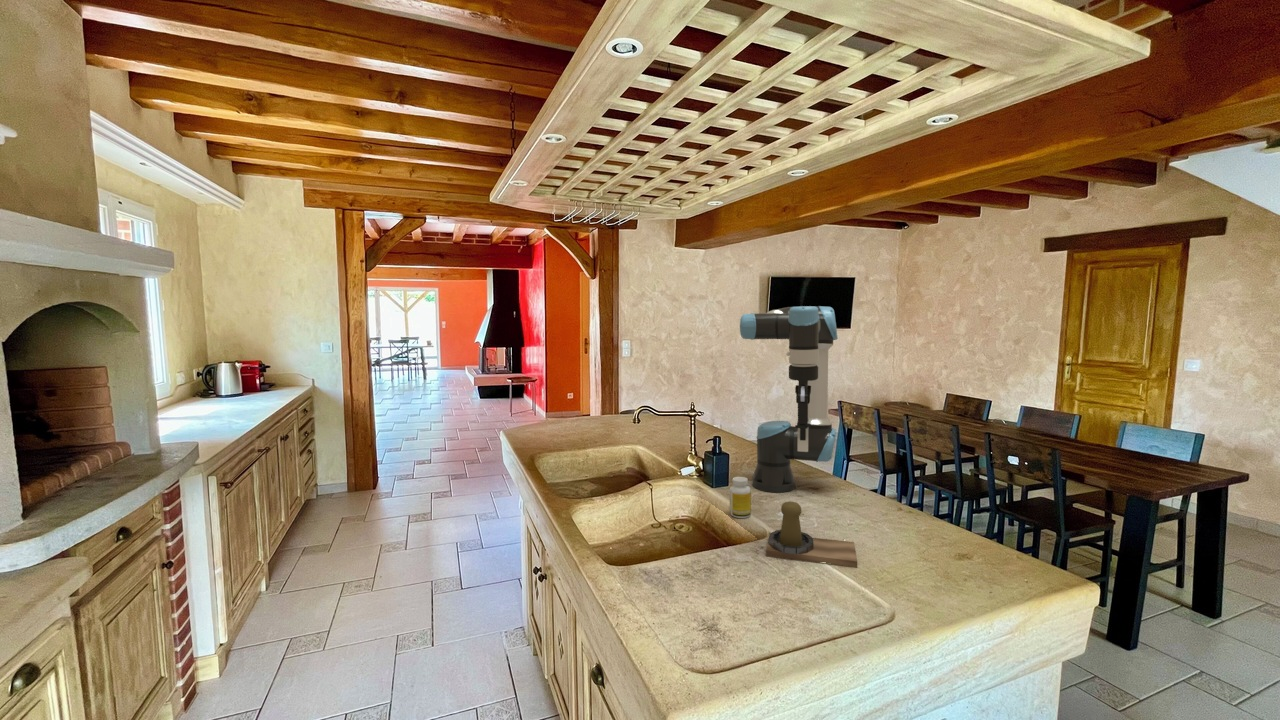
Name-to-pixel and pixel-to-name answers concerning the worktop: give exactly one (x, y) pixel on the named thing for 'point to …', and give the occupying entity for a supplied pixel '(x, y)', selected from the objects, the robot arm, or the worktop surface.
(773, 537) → the ring holder
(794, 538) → the cork
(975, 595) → the worktop surface
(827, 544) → the walnut board
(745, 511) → the pill bottle
